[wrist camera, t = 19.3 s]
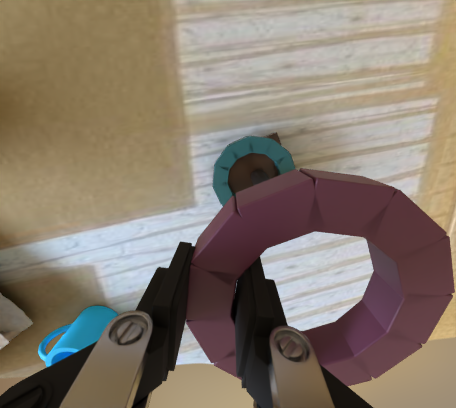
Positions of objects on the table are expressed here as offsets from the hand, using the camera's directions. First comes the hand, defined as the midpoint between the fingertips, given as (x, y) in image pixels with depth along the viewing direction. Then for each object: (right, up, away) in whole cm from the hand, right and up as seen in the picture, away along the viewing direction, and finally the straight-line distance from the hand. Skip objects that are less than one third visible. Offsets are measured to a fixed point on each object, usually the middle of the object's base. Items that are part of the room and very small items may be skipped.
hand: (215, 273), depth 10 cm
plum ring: (+4, 0, +1) cm, 4 cm away
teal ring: (+4, +7, +20) cm, 22 cm away
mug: (-26, -19, +31) cm, 45 cm away
